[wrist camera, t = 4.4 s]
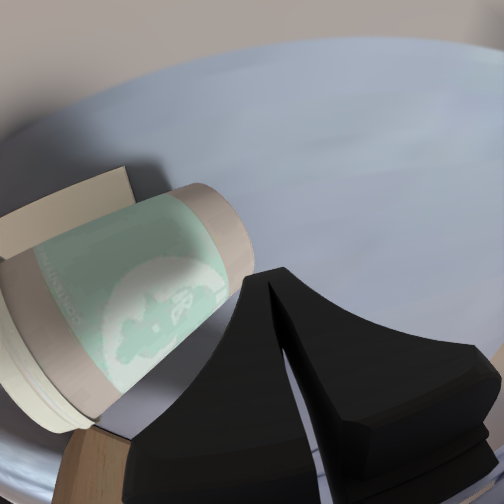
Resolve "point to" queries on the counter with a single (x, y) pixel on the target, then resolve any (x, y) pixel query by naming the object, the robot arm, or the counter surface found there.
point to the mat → (64, 211)
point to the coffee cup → (114, 301)
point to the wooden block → (92, 468)
